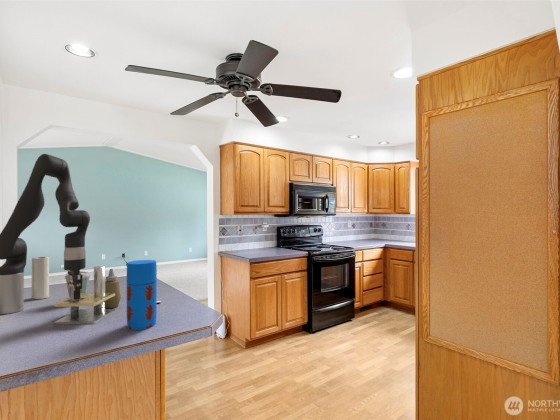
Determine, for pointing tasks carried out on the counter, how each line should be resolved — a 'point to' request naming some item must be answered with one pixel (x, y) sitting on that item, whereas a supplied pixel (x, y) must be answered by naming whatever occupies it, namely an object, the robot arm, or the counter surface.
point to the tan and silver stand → (89, 302)
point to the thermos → (141, 294)
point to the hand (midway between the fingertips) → (74, 297)
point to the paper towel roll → (40, 277)
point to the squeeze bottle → (112, 290)
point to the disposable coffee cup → (84, 282)
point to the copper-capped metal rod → (73, 309)
